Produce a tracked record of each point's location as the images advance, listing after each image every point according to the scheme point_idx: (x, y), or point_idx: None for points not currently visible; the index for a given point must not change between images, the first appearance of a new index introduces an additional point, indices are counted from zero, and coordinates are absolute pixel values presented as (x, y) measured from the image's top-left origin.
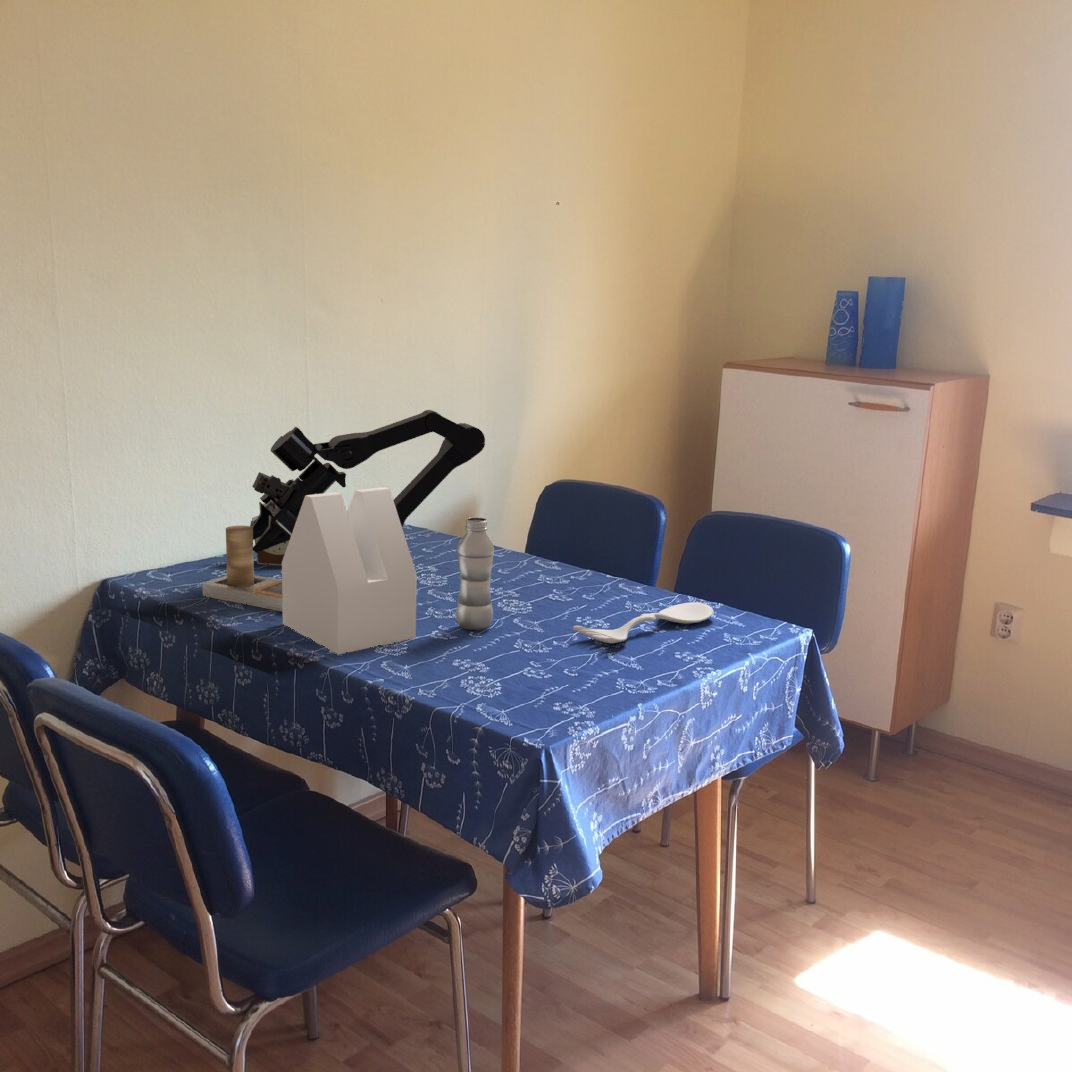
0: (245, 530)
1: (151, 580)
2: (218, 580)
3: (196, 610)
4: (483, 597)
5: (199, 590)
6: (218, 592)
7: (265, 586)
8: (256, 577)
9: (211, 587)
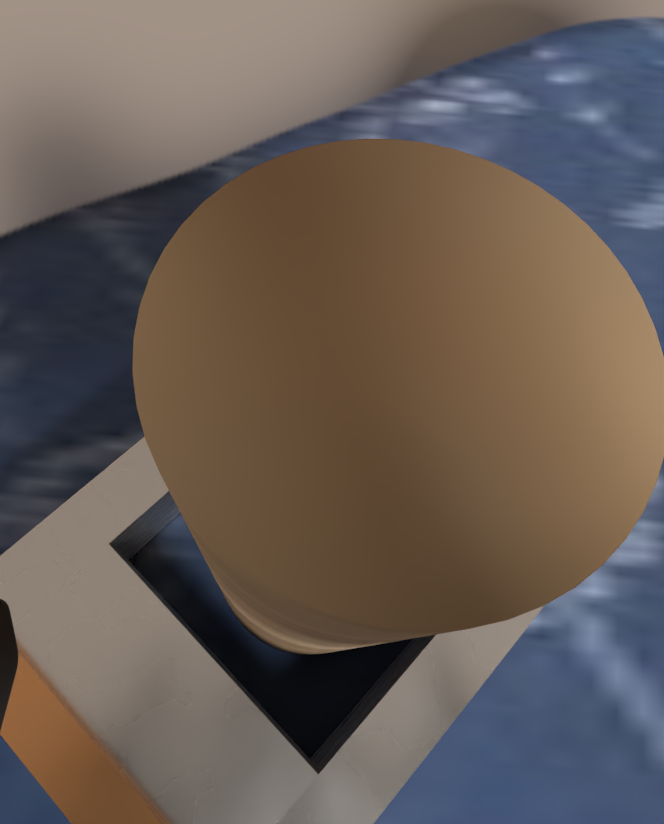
0: (181, 440)
1: (644, 147)
2: None
3: (23, 281)
4: None
5: None
6: None
7: (46, 737)
8: (413, 685)
9: None
